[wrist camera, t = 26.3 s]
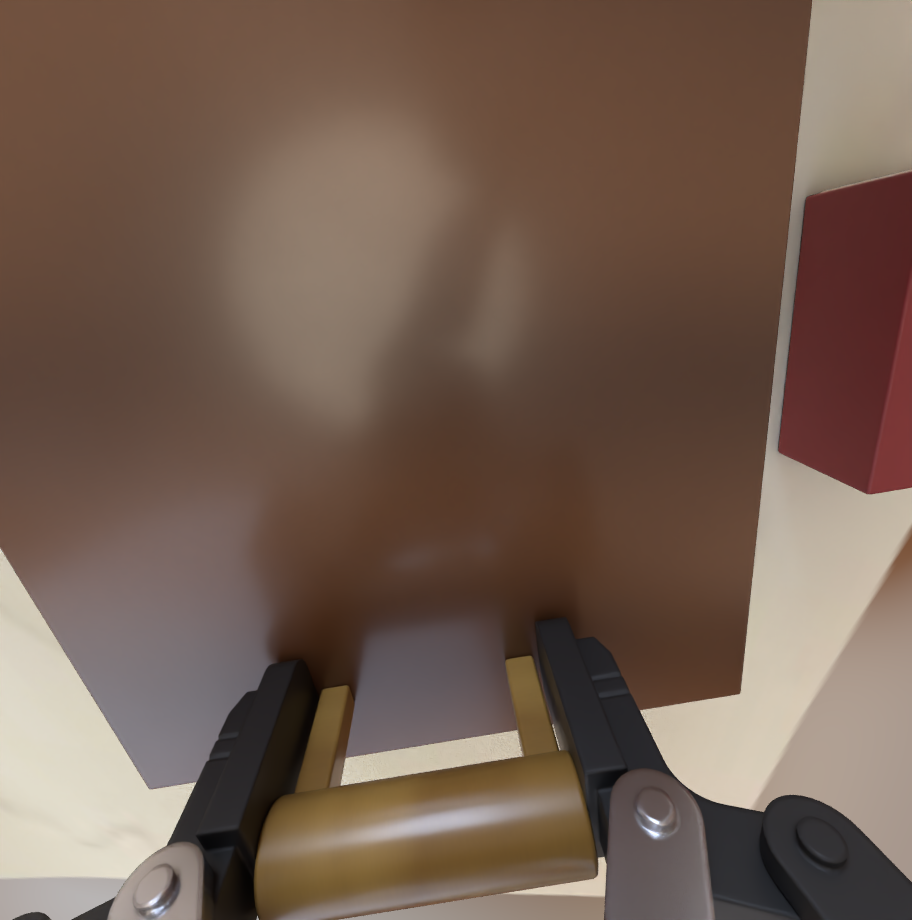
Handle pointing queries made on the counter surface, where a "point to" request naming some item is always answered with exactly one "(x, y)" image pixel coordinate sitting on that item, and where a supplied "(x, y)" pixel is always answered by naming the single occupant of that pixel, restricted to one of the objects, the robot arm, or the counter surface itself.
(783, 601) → the counter surface
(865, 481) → the book
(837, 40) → the counter surface
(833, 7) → the counter surface
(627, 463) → the chest lid
